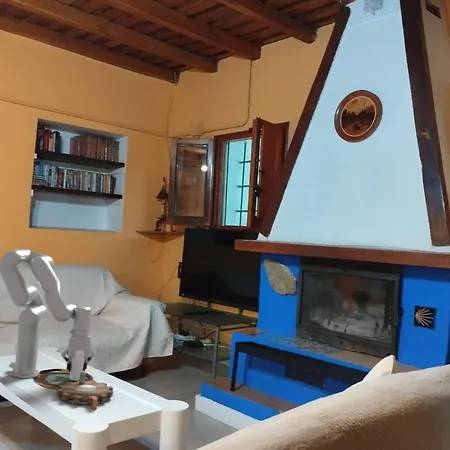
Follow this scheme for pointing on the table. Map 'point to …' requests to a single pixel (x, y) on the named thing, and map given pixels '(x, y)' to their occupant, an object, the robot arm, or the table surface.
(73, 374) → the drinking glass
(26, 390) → the table surface
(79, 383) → the sprocket
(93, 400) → the sprocket stand
